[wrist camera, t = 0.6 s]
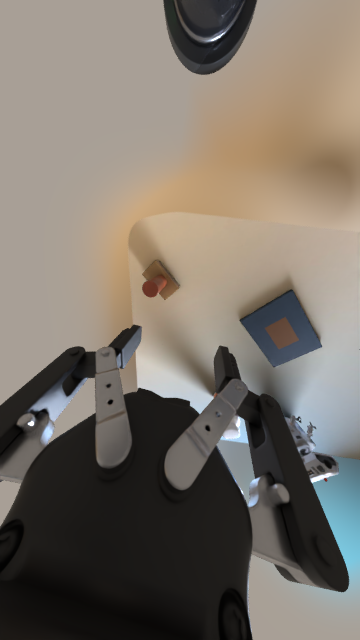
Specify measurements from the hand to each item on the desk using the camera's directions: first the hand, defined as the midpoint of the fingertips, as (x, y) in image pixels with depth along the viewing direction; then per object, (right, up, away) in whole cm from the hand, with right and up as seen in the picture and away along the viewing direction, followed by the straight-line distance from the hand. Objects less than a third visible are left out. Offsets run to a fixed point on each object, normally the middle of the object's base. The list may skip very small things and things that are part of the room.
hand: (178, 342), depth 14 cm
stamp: (-3, +11, +17) cm, 21 cm away
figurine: (+36, -30, +33) cm, 57 cm away
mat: (+25, -1, +20) cm, 32 cm away
